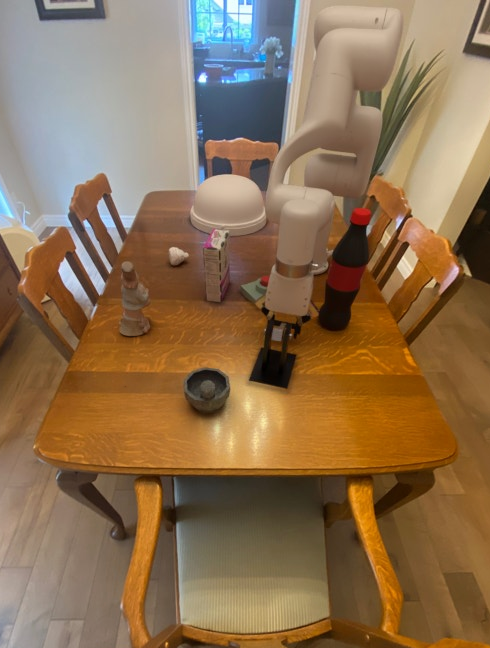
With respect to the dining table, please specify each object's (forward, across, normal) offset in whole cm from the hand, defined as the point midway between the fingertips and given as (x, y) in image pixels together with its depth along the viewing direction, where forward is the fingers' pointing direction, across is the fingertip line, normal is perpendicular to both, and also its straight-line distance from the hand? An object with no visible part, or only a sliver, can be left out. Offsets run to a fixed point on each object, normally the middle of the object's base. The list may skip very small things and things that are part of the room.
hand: (283, 332), depth 91 cm
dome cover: (+4, +35, -69) cm, 77 cm away
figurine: (+4, +38, +5) cm, 39 cm away
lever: (-4, 0, +6) cm, 7 cm away
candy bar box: (+4, +23, -18) cm, 30 cm away
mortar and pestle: (+4, +11, +26) cm, 28 cm away
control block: (+4, +9, -21) cm, 23 cm away
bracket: (+4, 0, +10) cm, 11 cm away
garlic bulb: (+4, +40, -30) cm, 51 cm away
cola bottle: (+4, -12, -12) cm, 17 cm away
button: (0, +9, -21) cm, 23 cm away
